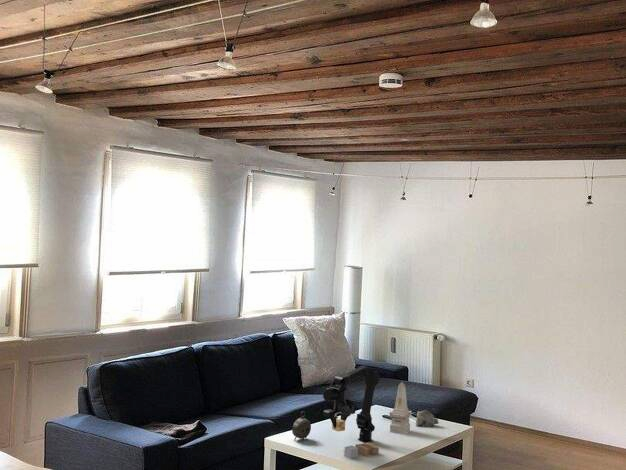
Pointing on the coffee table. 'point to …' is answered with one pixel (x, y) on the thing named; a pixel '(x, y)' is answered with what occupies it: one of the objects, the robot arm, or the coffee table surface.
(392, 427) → the miniature monument
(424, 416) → the mineral rock
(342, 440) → the coffee table surface
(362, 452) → the walnut block
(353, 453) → the grey cube
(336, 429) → the oak cube
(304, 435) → the alarm clock
